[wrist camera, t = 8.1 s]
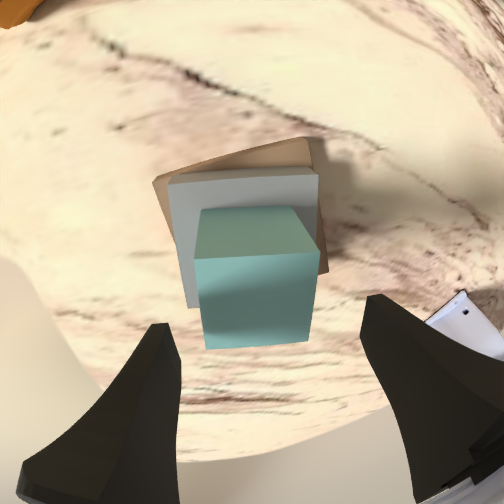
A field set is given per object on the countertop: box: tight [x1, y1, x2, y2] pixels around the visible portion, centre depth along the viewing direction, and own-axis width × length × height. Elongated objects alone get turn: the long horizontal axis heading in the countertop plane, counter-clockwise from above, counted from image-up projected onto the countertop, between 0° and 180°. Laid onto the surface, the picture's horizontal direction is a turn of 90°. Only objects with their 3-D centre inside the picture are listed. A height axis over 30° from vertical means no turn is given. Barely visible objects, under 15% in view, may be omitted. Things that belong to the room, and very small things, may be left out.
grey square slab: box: [167, 166, 319, 308], centre depth 17 cm, size 8×8×2 cm
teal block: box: [194, 206, 320, 350], centre depth 14 cm, size 4×4×5 cm
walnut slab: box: [152, 137, 329, 275], centre depth 19 cm, size 9×9×2 cm
